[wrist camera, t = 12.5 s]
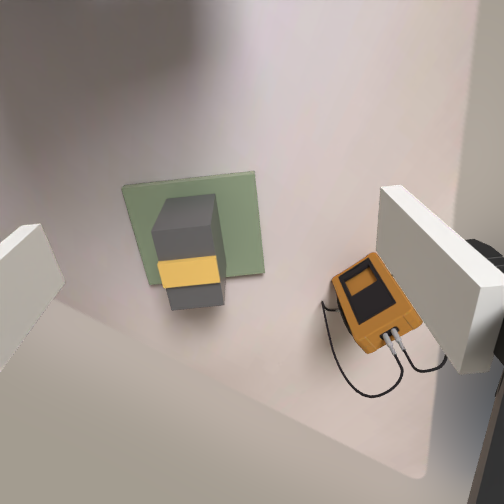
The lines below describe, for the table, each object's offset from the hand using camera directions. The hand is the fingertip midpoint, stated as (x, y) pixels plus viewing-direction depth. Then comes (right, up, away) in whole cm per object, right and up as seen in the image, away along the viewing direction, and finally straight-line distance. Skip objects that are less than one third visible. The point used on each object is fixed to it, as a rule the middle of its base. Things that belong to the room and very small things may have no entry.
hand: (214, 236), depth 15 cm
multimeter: (+19, -6, +39) cm, 44 cm away
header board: (-5, +2, +34) cm, 34 cm away
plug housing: (-5, +2, +33) cm, 33 cm away
